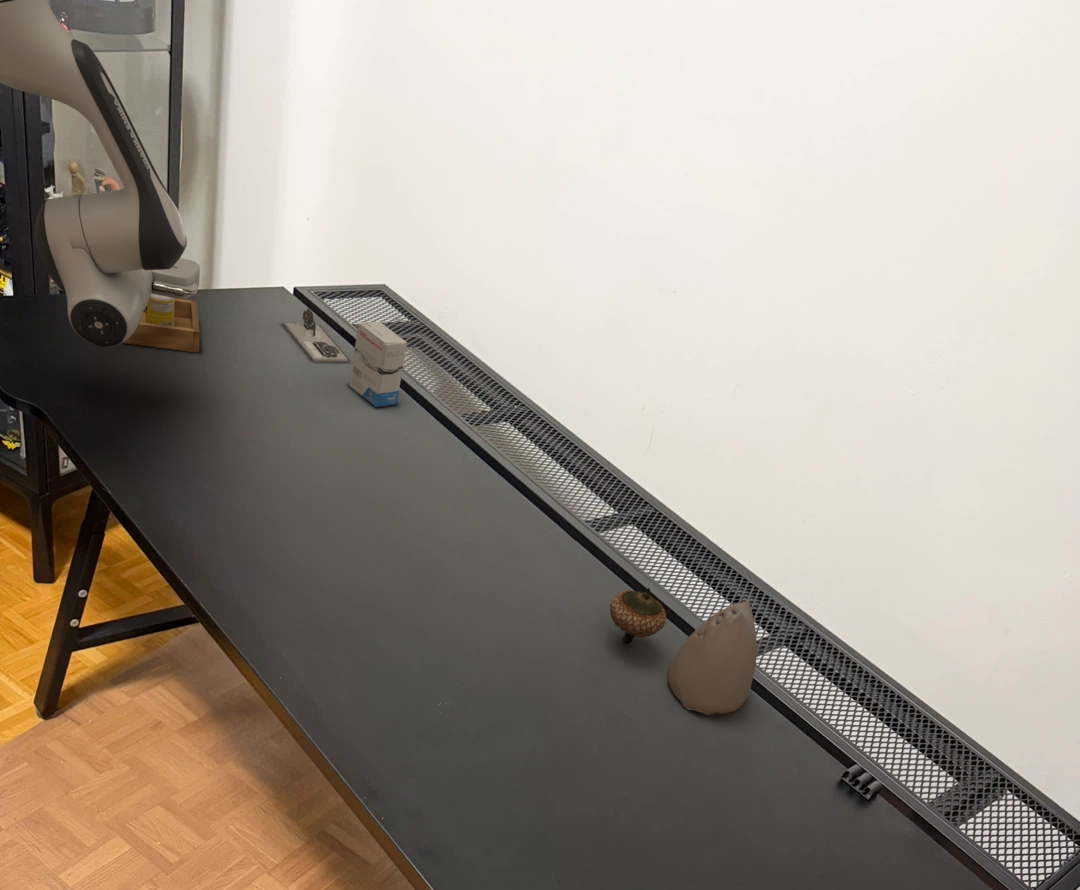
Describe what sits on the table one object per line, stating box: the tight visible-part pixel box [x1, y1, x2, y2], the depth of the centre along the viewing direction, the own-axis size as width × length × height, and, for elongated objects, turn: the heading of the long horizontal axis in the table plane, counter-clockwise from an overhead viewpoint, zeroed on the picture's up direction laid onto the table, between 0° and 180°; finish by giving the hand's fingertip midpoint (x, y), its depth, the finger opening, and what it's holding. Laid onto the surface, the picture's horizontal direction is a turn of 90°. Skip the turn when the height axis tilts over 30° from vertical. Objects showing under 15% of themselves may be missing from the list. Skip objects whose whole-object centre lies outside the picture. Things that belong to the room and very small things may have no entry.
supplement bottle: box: [146, 293, 174, 326], centre depth 177 cm, size 5×5×8 cm
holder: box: [122, 298, 201, 354], centre depth 179 cm, size 13×13×4 cm
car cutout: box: [284, 308, 349, 363], centre depth 192 cm, size 15×7×4 cm, turn 31°
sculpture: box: [667, 598, 758, 716], centre depth 138 cm, size 13×12×15 cm
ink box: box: [348, 321, 408, 408], centre depth 179 cm, size 9×5×12 cm, turn 42°
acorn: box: [609, 587, 667, 646], centre depth 143 cm, size 8×8×10 cm
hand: (135, 247), depth 156 cm, fingers open, 8 cm apart
